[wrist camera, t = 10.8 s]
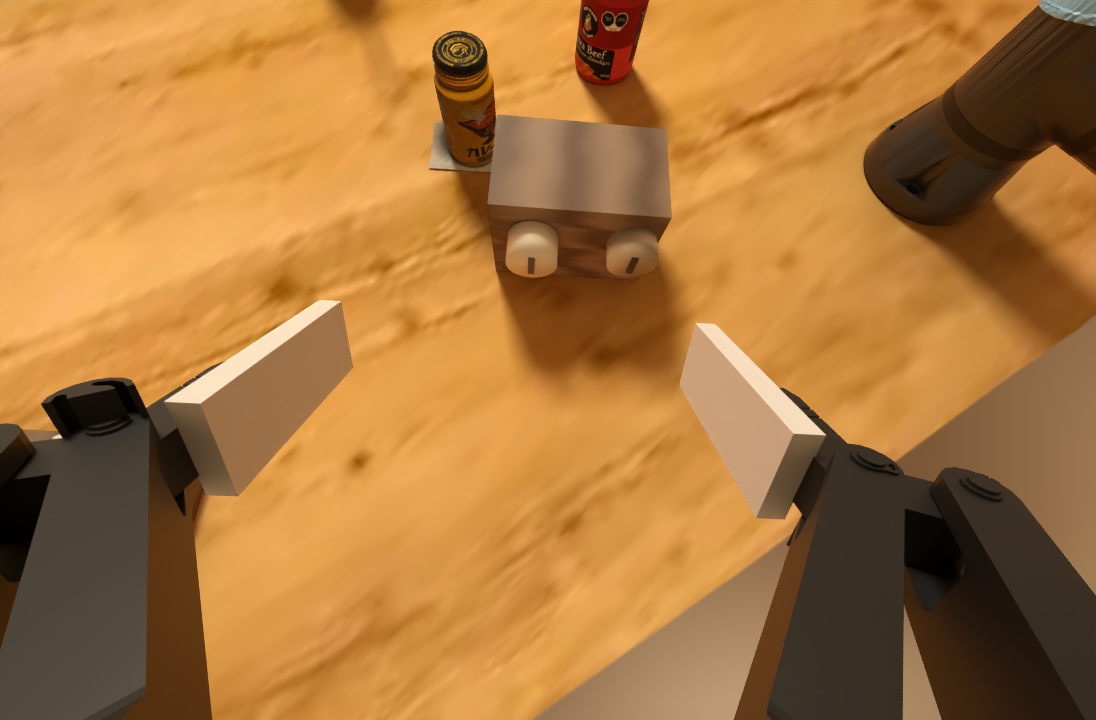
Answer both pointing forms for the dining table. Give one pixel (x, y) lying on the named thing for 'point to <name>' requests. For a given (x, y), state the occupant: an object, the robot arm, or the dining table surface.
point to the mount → (582, 192)
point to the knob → (532, 249)
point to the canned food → (608, 38)
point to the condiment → (463, 104)
